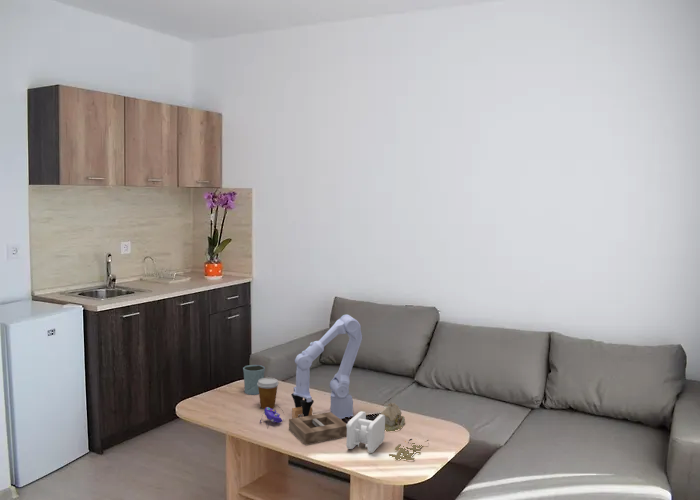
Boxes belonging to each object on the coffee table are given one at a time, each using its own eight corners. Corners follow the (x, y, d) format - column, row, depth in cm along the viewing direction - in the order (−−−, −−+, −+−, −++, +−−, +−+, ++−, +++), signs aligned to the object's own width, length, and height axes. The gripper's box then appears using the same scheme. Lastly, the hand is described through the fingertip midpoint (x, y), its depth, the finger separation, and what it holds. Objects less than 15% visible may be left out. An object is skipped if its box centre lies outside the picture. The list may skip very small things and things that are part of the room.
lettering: (410, 434, 249) (410, 432, 249) (433, 439, 245) (433, 437, 245) (386, 458, 227) (386, 456, 227) (411, 464, 222) (411, 462, 222)
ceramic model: (394, 434, 249) (394, 410, 247) (369, 428, 254) (370, 405, 253) (408, 423, 261) (409, 400, 260) (385, 417, 266) (386, 395, 265)
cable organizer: (370, 456, 228) (371, 426, 226) (344, 451, 232) (345, 421, 231) (384, 441, 241) (385, 413, 240) (360, 436, 245) (361, 408, 244)
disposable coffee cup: (282, 405, 277) (282, 380, 276) (268, 412, 269) (269, 385, 268) (266, 401, 282) (266, 376, 281) (252, 407, 274) (252, 381, 273)
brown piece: (330, 422, 259) (330, 411, 259) (348, 436, 245) (348, 425, 245) (288, 429, 250) (289, 419, 250) (305, 444, 236) (305, 433, 236)
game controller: (291, 414, 257) (272, 416, 250) (284, 431, 258) (265, 433, 251) (277, 401, 264) (259, 402, 256) (271, 418, 265) (252, 419, 258)
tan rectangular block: (309, 416, 265) (309, 405, 264) (312, 418, 262) (312, 407, 262) (292, 419, 261) (292, 408, 261) (294, 422, 259) (295, 410, 258)
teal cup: (240, 394, 290) (240, 369, 289) (247, 387, 300) (247, 363, 299) (260, 396, 288) (261, 371, 287) (267, 389, 298) (267, 365, 297)
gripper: (287, 378, 264) (286, 408, 266) (301, 388, 252) (300, 420, 253) (302, 376, 268) (301, 406, 269) (316, 386, 255) (315, 417, 257)
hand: (302, 412), depth 261 cm, fingers open, 7 cm apart
